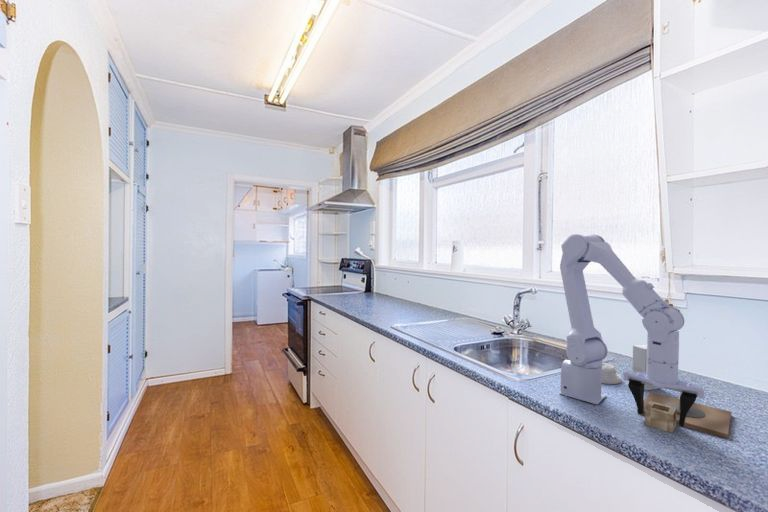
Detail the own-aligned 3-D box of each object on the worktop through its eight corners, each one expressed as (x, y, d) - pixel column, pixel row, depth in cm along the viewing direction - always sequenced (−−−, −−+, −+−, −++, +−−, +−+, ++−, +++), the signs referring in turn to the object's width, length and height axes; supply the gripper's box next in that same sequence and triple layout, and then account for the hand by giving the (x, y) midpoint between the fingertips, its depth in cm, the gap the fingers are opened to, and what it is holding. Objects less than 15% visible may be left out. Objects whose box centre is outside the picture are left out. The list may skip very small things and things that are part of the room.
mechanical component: (599, 371, 117) (575, 375, 114) (599, 358, 117) (576, 361, 114) (628, 382, 108) (604, 386, 105) (629, 368, 108) (604, 371, 105)
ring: (644, 424, 82) (645, 407, 82) (649, 417, 85) (649, 400, 85) (672, 432, 78) (673, 415, 78) (676, 425, 82) (676, 407, 82)
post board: (637, 413, 88) (637, 391, 87) (649, 395, 98) (650, 375, 98) (727, 438, 76) (728, 413, 76) (731, 415, 86) (731, 393, 86)
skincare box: (646, 383, 107) (648, 343, 106) (661, 388, 103) (662, 347, 102) (631, 385, 105) (632, 345, 105) (645, 391, 101) (646, 349, 101)
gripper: (620, 356, 84) (619, 413, 84) (702, 372, 73) (700, 437, 74) (627, 350, 89) (626, 404, 89) (706, 364, 78) (704, 425, 79)
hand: (660, 418), depth 82 cm, fingers open, 7 cm apart
